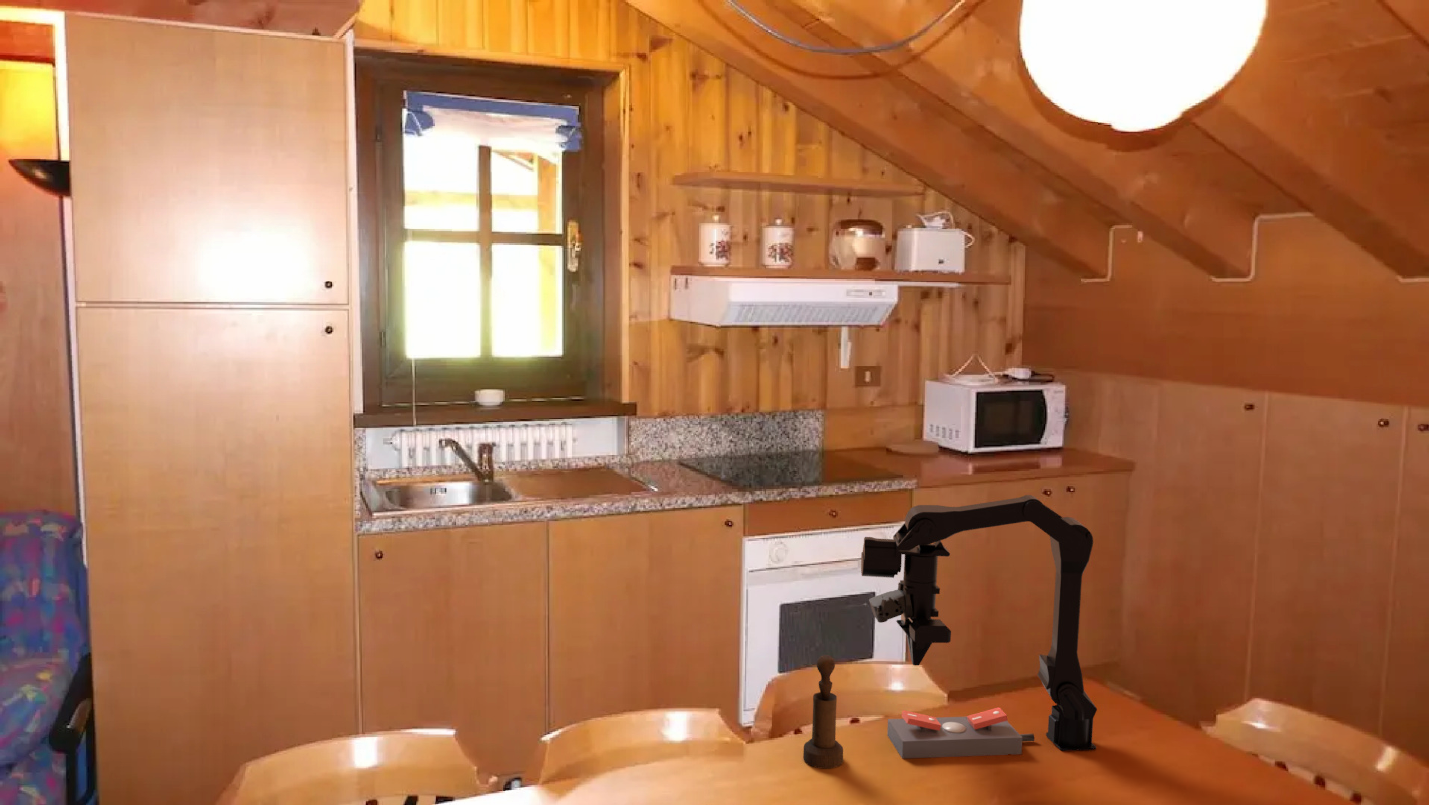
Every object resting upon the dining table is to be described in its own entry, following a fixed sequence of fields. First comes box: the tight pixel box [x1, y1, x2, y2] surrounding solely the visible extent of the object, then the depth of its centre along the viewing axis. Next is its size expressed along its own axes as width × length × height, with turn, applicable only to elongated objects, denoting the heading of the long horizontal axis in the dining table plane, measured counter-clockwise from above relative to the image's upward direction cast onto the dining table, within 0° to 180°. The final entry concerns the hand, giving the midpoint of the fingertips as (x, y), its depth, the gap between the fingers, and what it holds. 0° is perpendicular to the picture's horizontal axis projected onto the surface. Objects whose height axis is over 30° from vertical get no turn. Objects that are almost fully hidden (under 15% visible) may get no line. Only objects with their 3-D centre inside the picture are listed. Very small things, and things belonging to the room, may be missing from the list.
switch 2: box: [966, 706, 1008, 729], centre depth 178 cm, size 6×3×1 cm, turn 96°
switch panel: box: [886, 716, 1035, 759], centre depth 177 cm, size 25×9×4 cm, turn 96°
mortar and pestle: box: [802, 654, 844, 769], centre depth 170 cm, size 7×6×18 cm
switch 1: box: [901, 710, 941, 731], centre depth 176 cm, size 6×3×1 cm, turn 97°
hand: (915, 664), depth 180 cm, fingers closed
